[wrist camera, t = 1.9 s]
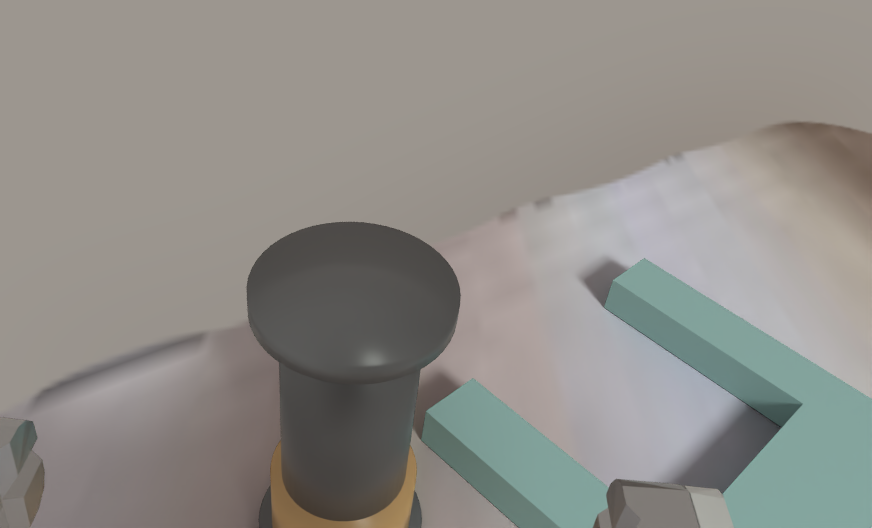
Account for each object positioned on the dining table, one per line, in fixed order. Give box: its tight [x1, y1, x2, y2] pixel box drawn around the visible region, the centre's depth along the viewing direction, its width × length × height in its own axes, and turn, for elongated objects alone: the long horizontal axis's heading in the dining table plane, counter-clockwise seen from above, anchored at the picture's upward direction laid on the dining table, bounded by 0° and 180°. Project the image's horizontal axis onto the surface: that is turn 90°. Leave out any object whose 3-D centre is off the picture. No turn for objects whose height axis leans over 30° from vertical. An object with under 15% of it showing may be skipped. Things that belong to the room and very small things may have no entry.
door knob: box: [247, 222, 461, 528], centre depth 29 cm, size 6×6×13 cm
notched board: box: [421, 258, 872, 528], centre depth 37 cm, size 17×16×2 cm
